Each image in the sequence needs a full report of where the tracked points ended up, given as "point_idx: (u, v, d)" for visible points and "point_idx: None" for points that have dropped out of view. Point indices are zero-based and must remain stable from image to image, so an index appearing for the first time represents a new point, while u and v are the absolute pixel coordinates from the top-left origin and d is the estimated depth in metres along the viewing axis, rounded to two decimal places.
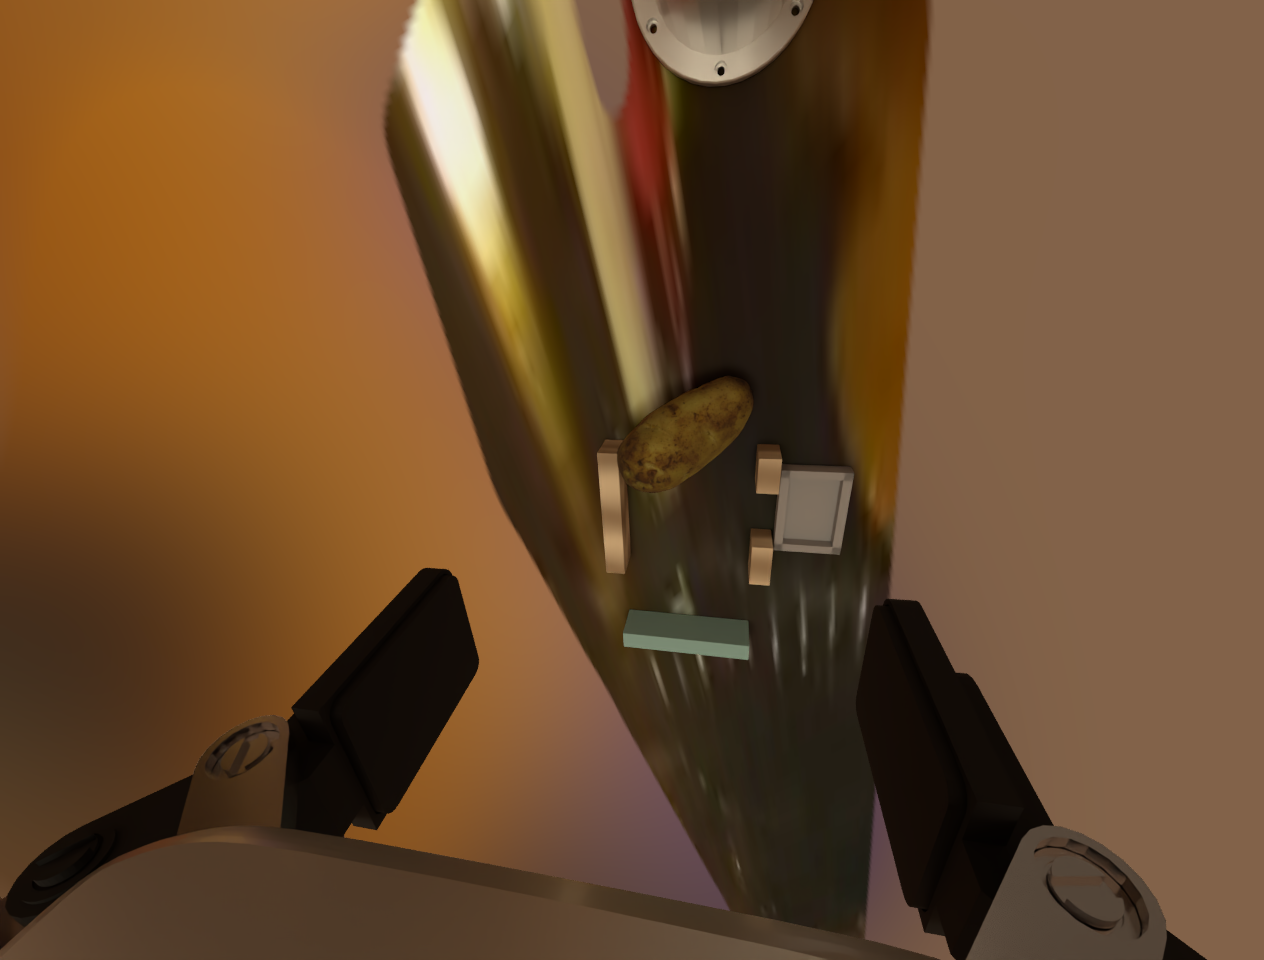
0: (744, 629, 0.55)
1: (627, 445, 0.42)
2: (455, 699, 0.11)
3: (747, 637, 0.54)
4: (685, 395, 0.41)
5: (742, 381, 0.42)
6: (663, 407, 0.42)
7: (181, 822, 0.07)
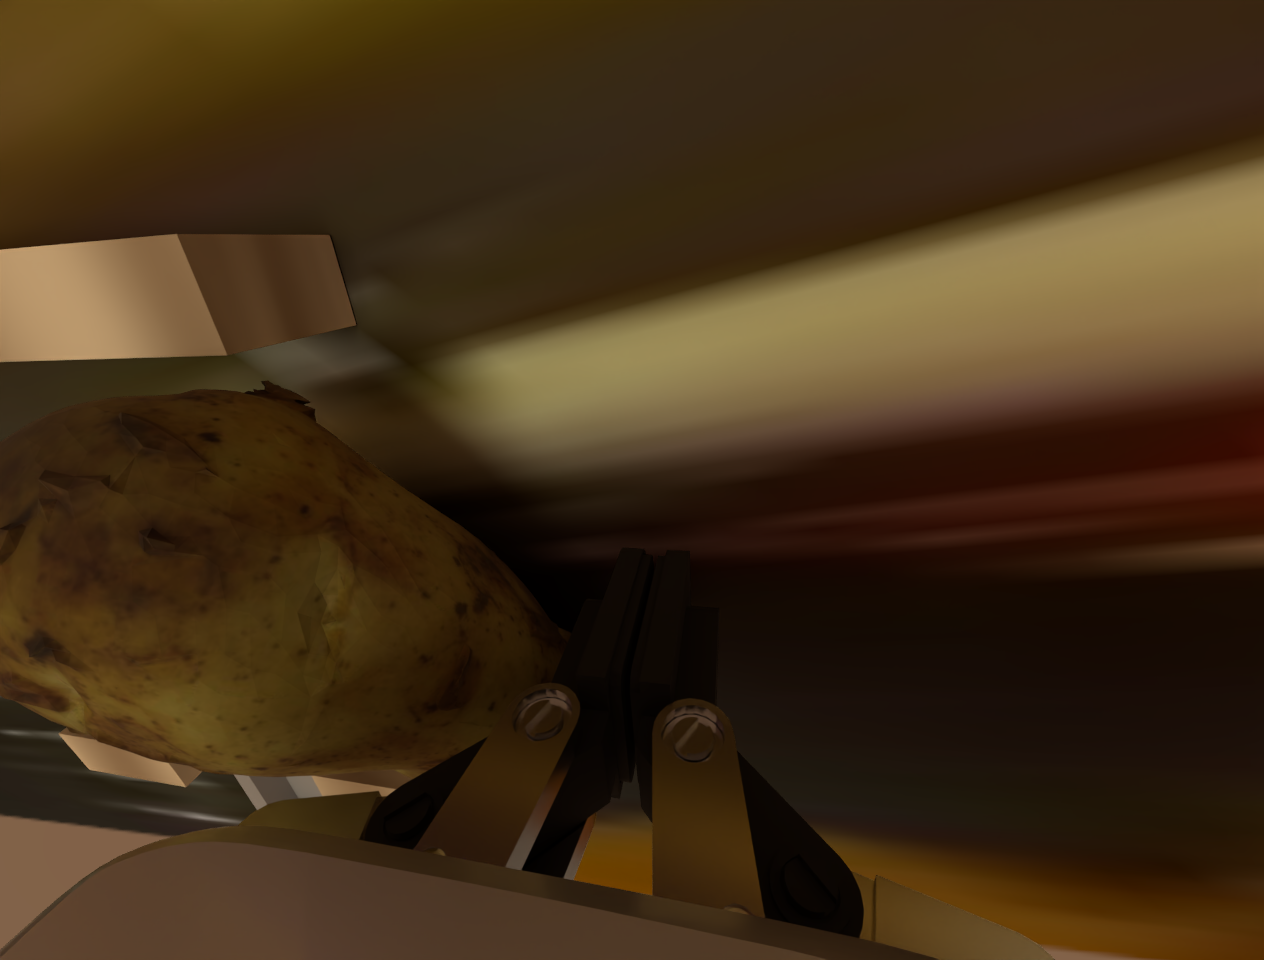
0: None
1: (141, 543, 0.06)
2: None
3: None
4: (528, 677, 0.10)
5: None
6: (456, 632, 0.09)
7: (479, 752, 0.07)
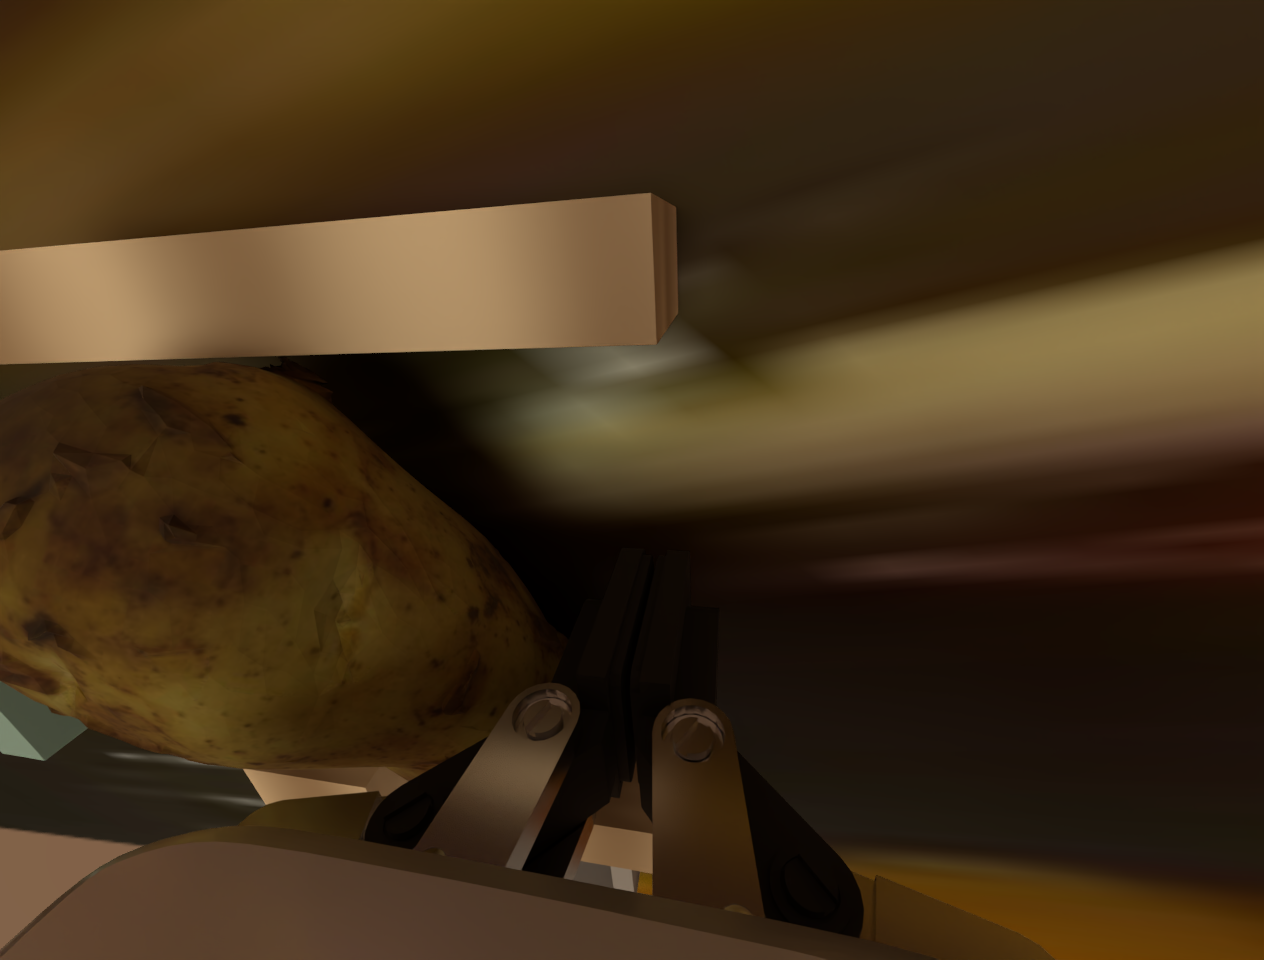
0: None
1: (162, 530, 0.06)
2: None
3: None
4: (530, 683, 0.10)
5: None
6: (468, 637, 0.09)
7: (479, 751, 0.07)
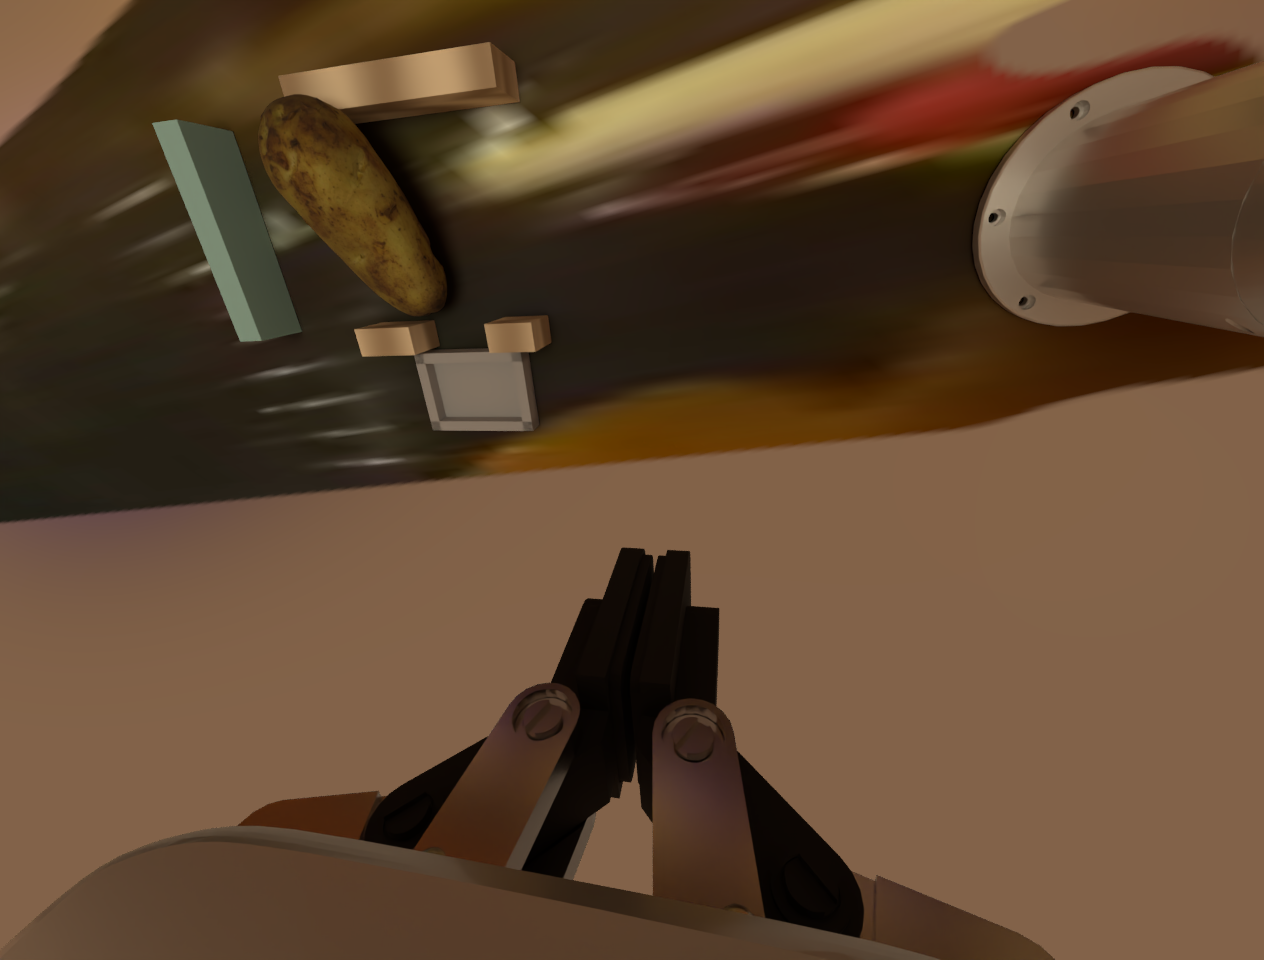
0: (285, 329, 0.40)
1: (322, 124, 0.27)
2: None
3: (274, 335, 0.39)
4: (413, 232, 0.32)
5: (437, 306, 0.35)
6: (392, 196, 0.30)
7: (478, 752, 0.07)
